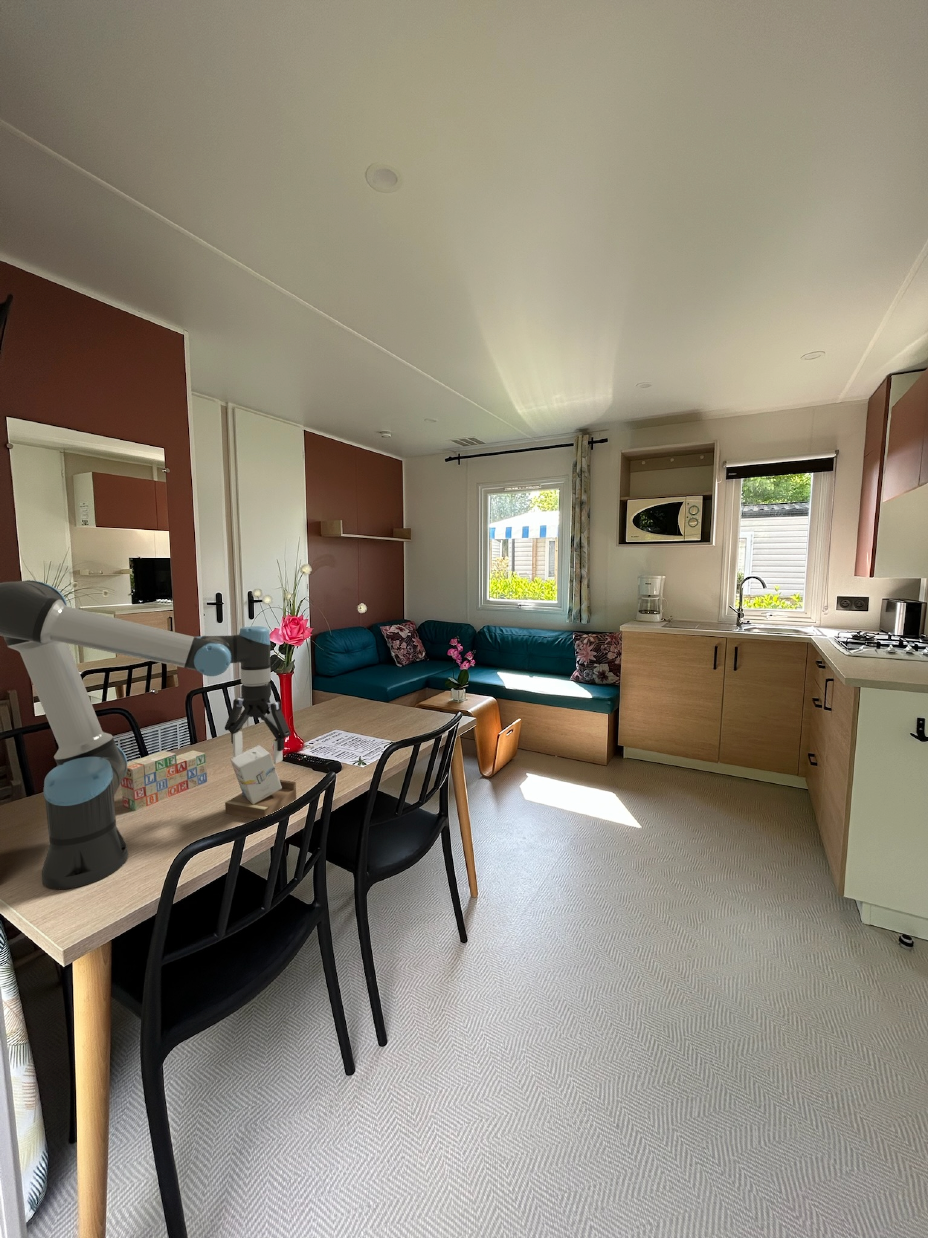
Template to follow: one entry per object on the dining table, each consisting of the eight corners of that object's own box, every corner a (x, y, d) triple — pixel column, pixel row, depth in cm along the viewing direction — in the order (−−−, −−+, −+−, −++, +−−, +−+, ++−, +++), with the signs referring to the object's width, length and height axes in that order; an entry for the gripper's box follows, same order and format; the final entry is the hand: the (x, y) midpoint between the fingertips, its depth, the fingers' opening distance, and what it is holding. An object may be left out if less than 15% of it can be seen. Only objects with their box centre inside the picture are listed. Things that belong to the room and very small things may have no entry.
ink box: (242, 794, 137) (228, 758, 134) (271, 778, 142) (258, 743, 139) (252, 805, 130) (239, 768, 127) (282, 788, 136) (270, 752, 133)
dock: (264, 820, 128) (264, 802, 128) (225, 813, 132) (224, 795, 132) (296, 798, 141) (295, 782, 140) (259, 792, 145) (258, 776, 144)
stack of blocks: (195, 778, 156) (192, 740, 154) (207, 782, 153) (205, 744, 151) (122, 806, 137) (119, 764, 136) (135, 811, 134) (131, 768, 133)
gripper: (303, 684, 133) (304, 759, 135) (230, 676, 140) (232, 748, 142) (285, 690, 126) (286, 769, 127) (209, 682, 133) (211, 757, 135)
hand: (257, 758), depth 135 cm, fingers open, 13 cm apart
